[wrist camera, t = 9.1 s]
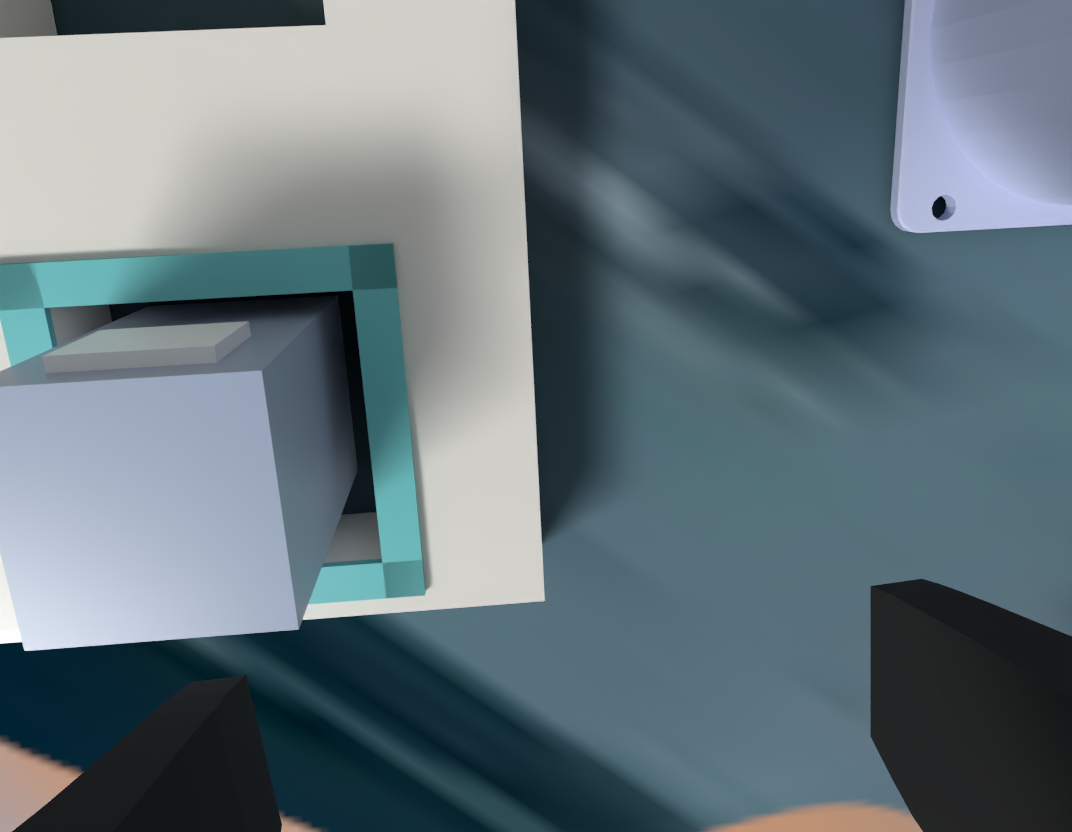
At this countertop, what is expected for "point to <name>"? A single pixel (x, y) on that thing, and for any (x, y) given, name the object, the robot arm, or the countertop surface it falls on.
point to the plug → (175, 473)
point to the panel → (306, 247)
